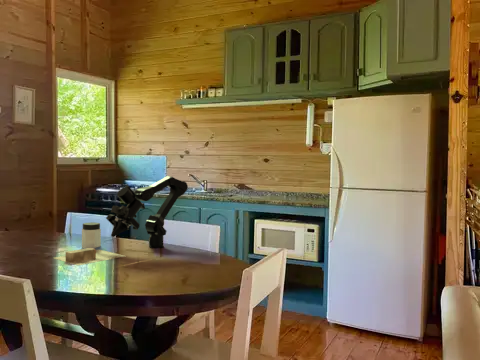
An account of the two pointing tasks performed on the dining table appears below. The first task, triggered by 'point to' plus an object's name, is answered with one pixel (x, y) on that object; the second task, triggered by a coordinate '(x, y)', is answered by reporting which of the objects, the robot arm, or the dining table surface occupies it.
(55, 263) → the dining table surface
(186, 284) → the dining table surface
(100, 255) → the board
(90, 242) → the jar
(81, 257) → the block
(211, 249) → the dining table surface
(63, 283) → the dining table surface
